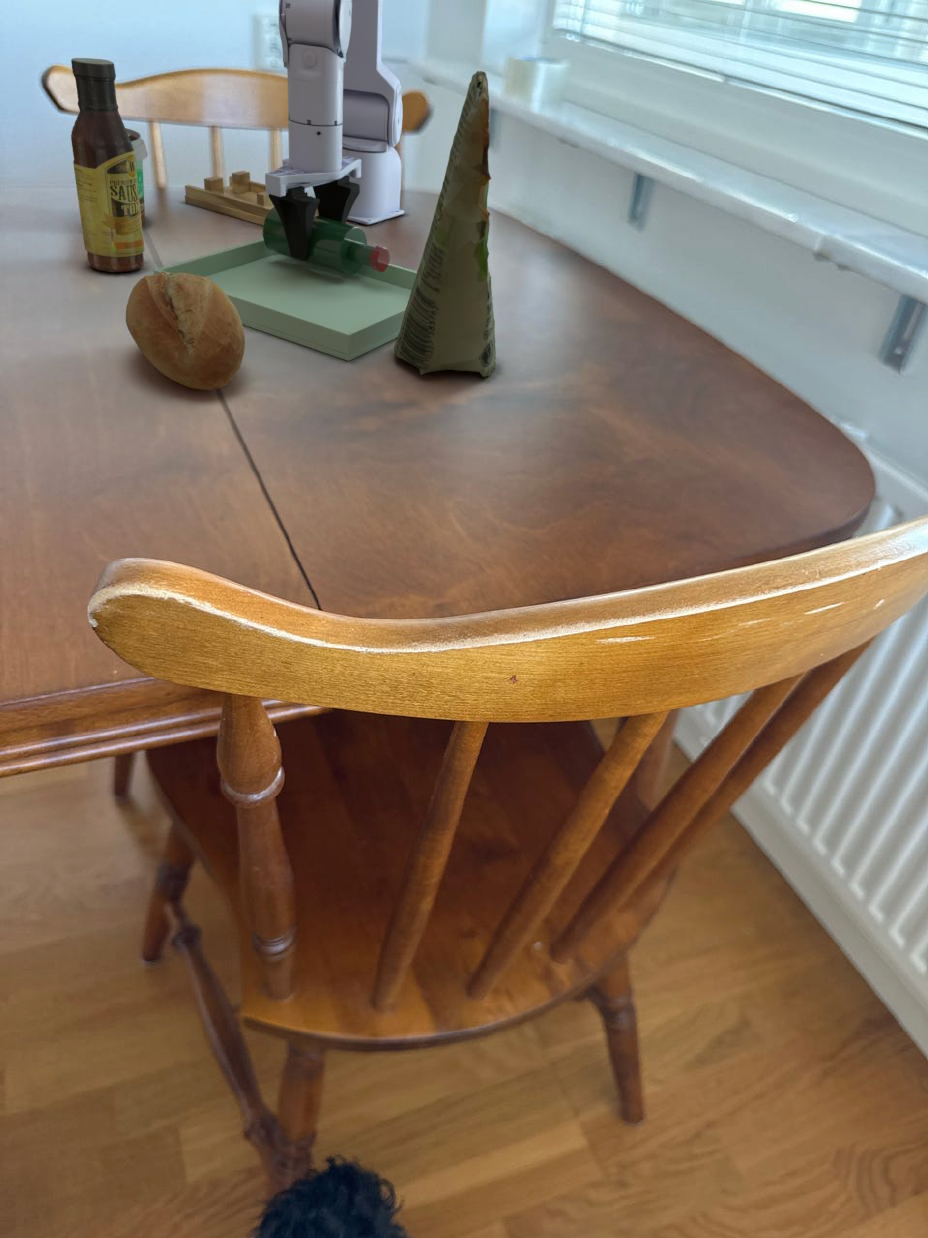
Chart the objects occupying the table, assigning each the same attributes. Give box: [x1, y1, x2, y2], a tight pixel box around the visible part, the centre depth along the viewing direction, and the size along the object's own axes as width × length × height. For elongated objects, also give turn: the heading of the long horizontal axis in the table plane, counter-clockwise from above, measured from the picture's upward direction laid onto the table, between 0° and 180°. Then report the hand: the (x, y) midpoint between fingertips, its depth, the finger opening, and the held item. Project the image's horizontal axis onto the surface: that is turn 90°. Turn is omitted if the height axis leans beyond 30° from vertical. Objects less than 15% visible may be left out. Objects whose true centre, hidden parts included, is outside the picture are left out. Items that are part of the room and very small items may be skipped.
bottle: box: [262, 207, 391, 275], centre depth 102 cm, size 5×15×5 cm, turn 60°
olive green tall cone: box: [393, 70, 497, 378], centre depth 81 cm, size 11×12×25 cm
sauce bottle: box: [70, 57, 145, 273], centre depth 95 cm, size 7×6×20 cm
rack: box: [184, 170, 319, 226], centre depth 123 cm, size 10×16×4 cm, turn 60°
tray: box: [152, 238, 418, 362], centre depth 97 cm, size 21×25×3 cm
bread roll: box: [125, 271, 246, 391], centre depth 79 cm, size 10×15×8 cm, turn 28°
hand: (315, 252), depth 103 cm, fingers closed on bottle, 5 cm apart
